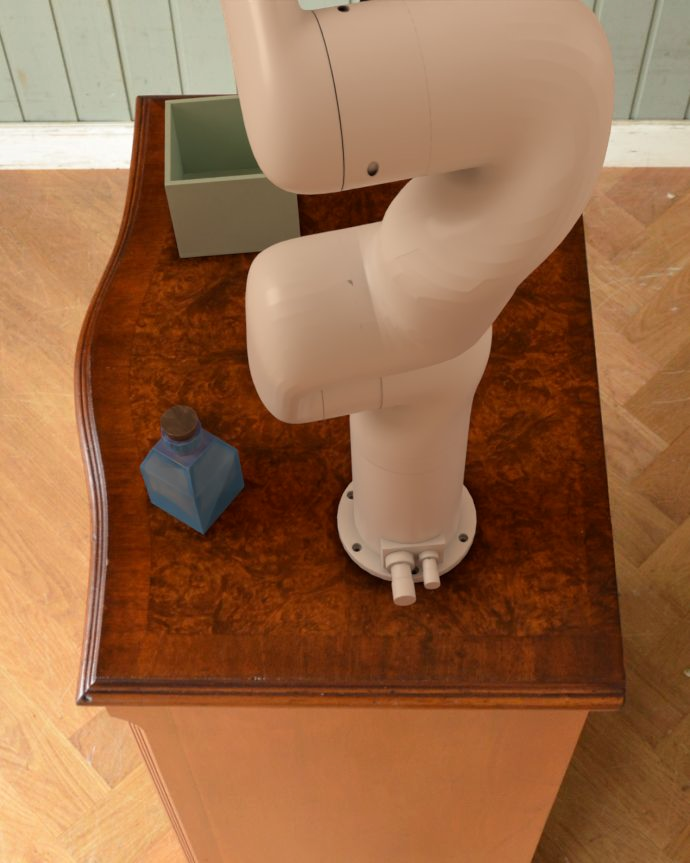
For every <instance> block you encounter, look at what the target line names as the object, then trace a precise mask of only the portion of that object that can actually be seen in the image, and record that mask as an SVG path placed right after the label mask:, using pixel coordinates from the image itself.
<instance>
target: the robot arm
mask: <svg viewBox="0 0 690 863" xmlns="http://www.w3.org/2000/svg"><path fill="white" fill-rule="evenodd" d="M219 2H220V7H221V12H222V16H223V21H224V26H225V30H226V36H227V41H228V47H229V52H230V58H231V63H232V69H233V74H234V79H235V84H236V90H237V95H239V100H240V105H241V110H242V114H243V119H244V124H245V128H246V132H247V136H248V140H249V143H250V146H251V149H252V152H253V154H254V157H255V159H256V161H257V163H258V165H259V167H260V169H261V170H262V171H263V173H264V174H265V176H266V177H267V178H268V179H269V180H270V181H271V182H272V183H273V184H274V185H276V186H277V187H279V188H281V189H283V190H285V191H288V192H292V193H296V194H297V195H309V196H310V195H322V194H333V193H338V192H339V193H340V192H343V191H350V190H354V189H355V190H356V189H360V188H366V187H371V186H377V185H381V184H382V185H383V184H388V183H392V182H399V181H405V180H409V179H411V180H409V181H408V182H407V183H406V184H405V185H404V186H403V188H401V189H400V191H399V192H398V193H397V195H396V196H395V197H394V198H393V199H392V201H391V203H390V204H389V206H388V208H387V209H386V211H385V213H384V215H383V217H382V220H380V221H376V222H372V223H365V224H361V225H356V226H352V227H346V228H342V229H341V228H340V229H335V230H329V231H323V232H319V233H313V234H308V235H303V236H300V237H298V238H294V239H290V240H286V241H283V242H280V243H277V244H274V245H272V246H270V247H268V248H267V249H265V250H263V251H260V252H259V253H258V254H257V255H256V256H255V257H254V259H253V260H252V262H251V265H250V267H249V270H248V274H247V277H246V278H247V279H246V285H245V286H246V287H245V298H244V299H245V301H244V302H245V324H246V326H245V327H246V328H245V329H246V330H245V331H246V349H247V350H246V351H247V358H248V359H247V360H248V366H249V371H250V375H251V379H252V383H253V386H254V388H255V390H256V392H257V395H258V397H259V399H260V400H261V402H262V405H263V406H264V407H265V408H266V409H267V411H268V412H269V413H270V414H271V416H273V417H275V418H276V419H277V420H279V421H281V422H283V423H286V424H290V425H291V424H292V425H294V424H295V425H296V424H297V425H300V424H307V423H314V422H318V421H324V420H330V419H334V418H339V417H343V416H344V417H345V416H349V429H350V430H349V433H350V434H349V435H350V456H351V457H350V458H351V475H352V481H351V482H349V484H348V485H347V487H346V488H345V490H344V492H343V493H342V496H341V498H340V500H339V504H338V508H337V516H336V519H337V520H336V521H337V522H336V523H337V531H338V536H339V540H340V542H341V544H342V547H343V548H344V551H345V552H346V553H347V555H348V556H349V558H350V559H351V560H352V561H353V562H354V563H355V564H356V565H358V567H359V568H361V569H362V570H364V571H366V572H367V573H369V574H370V575H371V576H373V577H377V578H379V579H382V580H384V581H388V582H391V590H392V599H393V604H394V605H395V606H399V607H406V606H410V605H413V604H414V603H416V601H417V596H416V587H415V584H416V583H423V586H424V588H425V589H426V590H436V589H438V588H439V587H441V580H440V579H441V578H440V577H441V576H443V575H445V574H446V573H448V572H450V571H451V570H452V569H454V568H456V566H457V565H459V564H460V563H461V562H462V560H463V559H464V558H465V557H466V555H467V554H468V552H469V550H471V549H470V548H471V546H472V545H473V542H474V539H475V535H476V528H477V510H476V506H475V504H474V499H473V498H472V495H471V494H470V492H469V490H468V488H467V487H466V485H464V479H465V470H466V469H465V468H466V457H467V449H468V439H469V438H468V437H469V431H470V430H469V429H470V420H471V413H472V407H473V401H474V397H475V393H476V391H477V388H478V387H479V384H480V382H481V380H482V378H483V375H484V373H485V370H486V368H487V365H488V361H489V358H490V354H491V349H492V348H491V347H492V339H493V323H494V322H495V321H496V319H497V318H498V316H499V315H500V314H501V313H502V311H503V309H504V308H505V307H506V305H507V304H508V303H509V301H510V300H511V298H512V297H513V295H514V294H515V292H516V290H517V288H518V287H519V286H520V285H521V284H522V283H523V282H524V281H525V280H526V279H527V278H528V277H529V276H530V275H531V274H532V273H533V272H534V271H535V270H536V269H537V268H538V267H539V266H541V264H542V263H543V262H544V261H545V260H547V258H548V257H549V256H550V255H551V254H552V253H554V251H555V250H556V249H557V247H559V245H560V244H562V242H563V241H564V240H565V238H567V236H568V234H569V233H570V232H571V231H572V229H573V228H574V226H575V224H576V223H577V222H578V220H579V219H580V217H581V216H582V214H583V213H584V211H585V210H586V207H587V206H588V205H589V201H590V200H591V198H592V195H593V194H594V192H595V189H596V187H597V185H598V181H599V179H600V176H601V173H602V170H603V167H604V164H605V160H606V156H607V151H608V146H609V143H610V137H611V131H612V126H613V119H614V118H613V117H614V111H615V110H614V109H615V108H614V107H615V92H616V90H615V88H616V87H615V86H616V85H615V68H614V61H613V60H614V59H613V54H612V48H611V45H610V43H609V39H608V37H607V34H606V31H605V30H604V27H603V25H602V24H601V22H600V20H599V18H598V17H597V15H596V14H595V12H594V11H593V10H592V9H591V8H590V7H589V6H587V5H586V4H585V3H584V2H583V1H581V0H359V1H357V2H353V3H346V4H339V5H334V6H327V7H322V8H316V9H304V8H302V7H301V5H300V3H299V0H219Z"/></svg>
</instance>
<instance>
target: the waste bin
mask: <svg viewBox="0 0 690 863" xmlns="http://www.w3.org/2000/svg"><path fill="white" fill-rule="evenodd" d="M164 189H165V194H166V199H167V204H168V208H169V212H170V217H171V222H172V227H173V231H174V235H175V236H174V237H175V240H176V245H177V250H178V254H179V258H180V259H185V258H186V259H187V258H197V257H210V256H221V255H234V254H246V253H257V252H259V253H260V252H262V251H263V250H265V249H267V248H268V247H270V246H272V245H274V244H277V243H280V242H283V241H286V240H290V239H294V238H298V237H301V228H300V217H299V216H300V215H299V206H298V205H299V204H298V194H296V193H292V192H288V191H285V190H283V189H281V188H279V187H277V186H276V185H274V184H273V183H272V182H271V181H270V180H269V179H268V178H267V177H266V176H265V174H264V173H263V171H262V170H261V169H260V167H259V165H258V163H257V161H256V159H255V157H254V154H253V152H252V149H251V146H250V143H249V140H248V136H247V132H246V128H245V124H244V119H243V114H242V110H241V105H240V100H239V95H238V94H228V95H216V96H203V97H193V98H180V99H178V98H177V99H168V100H167V99H166V100H164Z"/></svg>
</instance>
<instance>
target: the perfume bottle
mask: <svg viewBox="0 0 690 863" xmlns="http://www.w3.org/2000/svg"><path fill="white" fill-rule="evenodd" d="M160 427H161V428H160V432H161V438H160V439H159V440H158V441H157V442H156V443H155V445H154V446H152V447H151V449H150V450H149V452H148V454H147V455H146V456H145V457H144V460H143V461H142V462H141V464H140V466H139V470H140V472H141V475H142V478H143V481H144V484H145V489H146V491H147V494H148V496H149V500H150V503H151V504H152V505H154V506H156V507H158V508H159V509H160V510H162V511H164V512H166V513H167V514H168V515H171V516H172V517H174V518H176V519H177V520H179V521H180V522H182V523H183V524H185V525H187V526H188V527H190V528H192V530H194V531H197V532H199V533H200V534H201V535H205V534H206V533H207V531H208V530H209V529H210V528H211V527H212V526H213V525H214V523H215V522H216V521H217V520H218V518H219V517H220V516H221V515H222V514H223V513H224V511H225V510H226V509H227V508H228V507H229V505H230V504H232V502H233V501H234V500H235V499H236V497H237V496H238V495H239V494H240V493H241V492H242V490H243V489H244V488H245V482H244V477H243V472H242V466H241V462H240V461H241V460H240V456H239V451H238V449H237V448H235V447H234V446H232V445H230V444H229V443H227V442H225V441H224V440H223V439H221V438H219V437H218V436H216V435H214V434H212V433H211V432H209V431H207V430H206V429H204V428H202V423H201V421H200V420H199V418H198V415H197V412H196V411H195V410H194V409H193V408H192V407H190V406H187V405H174V406H172V407H170V408H168V409H166V411H164V412H163V414H162V415H161V417H160Z"/></svg>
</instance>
